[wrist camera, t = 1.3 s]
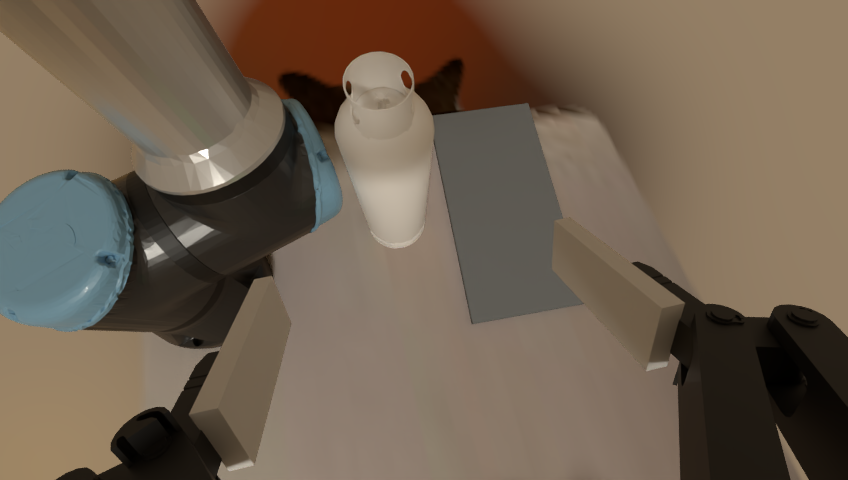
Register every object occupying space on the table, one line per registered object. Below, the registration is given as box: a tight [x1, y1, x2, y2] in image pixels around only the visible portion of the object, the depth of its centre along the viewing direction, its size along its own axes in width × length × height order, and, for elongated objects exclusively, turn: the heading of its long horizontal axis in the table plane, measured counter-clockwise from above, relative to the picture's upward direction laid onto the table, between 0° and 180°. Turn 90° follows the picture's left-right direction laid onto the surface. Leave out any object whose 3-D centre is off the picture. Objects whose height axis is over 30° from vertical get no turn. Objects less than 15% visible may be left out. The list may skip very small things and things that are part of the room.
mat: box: [433, 103, 584, 324], centre depth 51 cm, size 32×16×1 cm, turn 10°
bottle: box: [334, 52, 435, 248], centre depth 36 cm, size 8×8×28 cm
